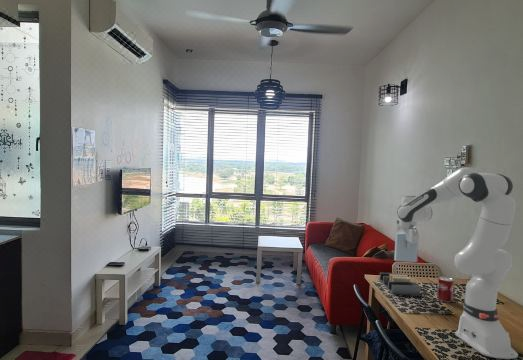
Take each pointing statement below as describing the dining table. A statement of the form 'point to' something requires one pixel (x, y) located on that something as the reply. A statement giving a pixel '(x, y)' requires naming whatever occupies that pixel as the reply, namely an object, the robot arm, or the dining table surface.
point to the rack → (399, 285)
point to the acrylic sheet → (405, 249)
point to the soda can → (445, 289)
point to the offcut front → (400, 279)
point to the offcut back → (396, 276)
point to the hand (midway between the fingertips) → (406, 247)
